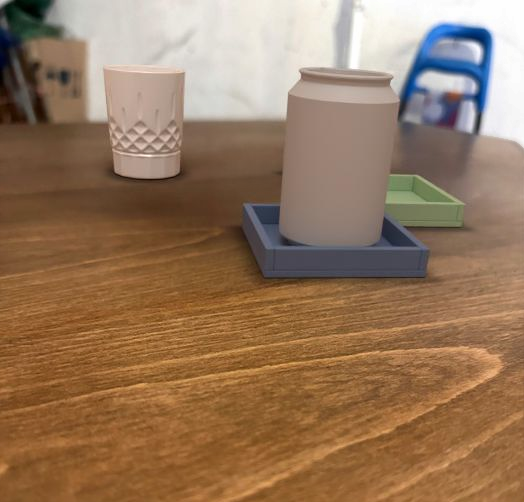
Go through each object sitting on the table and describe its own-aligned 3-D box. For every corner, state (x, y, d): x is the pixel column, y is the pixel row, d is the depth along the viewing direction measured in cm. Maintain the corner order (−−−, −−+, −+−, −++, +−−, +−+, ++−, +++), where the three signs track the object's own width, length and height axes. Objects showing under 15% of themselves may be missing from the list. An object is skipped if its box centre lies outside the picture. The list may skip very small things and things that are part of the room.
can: (393, 260, 47) (421, 76, 41) (288, 261, 45) (303, 70, 40) (361, 229, 53) (382, 66, 48) (269, 228, 52) (279, 61, 47)
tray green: (415, 194, 67) (418, 174, 66) (461, 227, 57) (466, 204, 56) (306, 192, 65) (308, 172, 64) (335, 226, 56) (338, 202, 55)
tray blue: (375, 229, 55) (378, 205, 54) (425, 277, 46) (430, 249, 45) (241, 227, 53) (242, 203, 53) (264, 277, 44) (265, 248, 43)
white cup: (125, 161, 73) (122, 63, 69) (194, 168, 72) (195, 68, 68) (95, 176, 66) (89, 67, 62) (170, 184, 65) (170, 74, 61)
